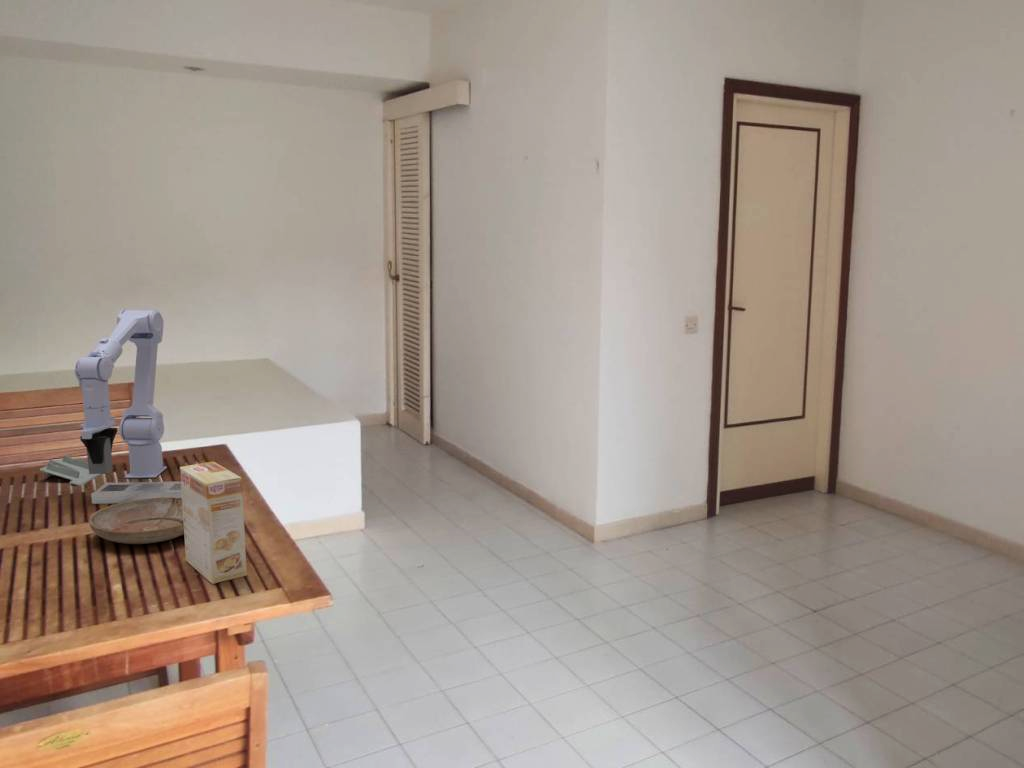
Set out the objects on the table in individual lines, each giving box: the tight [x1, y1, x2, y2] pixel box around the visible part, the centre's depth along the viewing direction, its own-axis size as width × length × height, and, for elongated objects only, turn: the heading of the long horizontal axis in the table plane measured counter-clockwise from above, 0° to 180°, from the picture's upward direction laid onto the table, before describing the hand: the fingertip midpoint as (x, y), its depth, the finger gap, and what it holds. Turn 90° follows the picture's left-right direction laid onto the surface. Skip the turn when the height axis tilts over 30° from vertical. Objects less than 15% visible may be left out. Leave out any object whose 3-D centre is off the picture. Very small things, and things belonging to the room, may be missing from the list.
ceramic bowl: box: [88, 497, 184, 545], centre depth 182 cm, size 23×24×5 cm
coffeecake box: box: [179, 461, 248, 585], centre depth 162 cm, size 15×7×20 cm, turn 39°
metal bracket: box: [39, 454, 102, 487], centre depth 223 cm, size 14×6×15 cm
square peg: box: [86, 437, 114, 475], centre depth 204 cm, size 4×4×8 cm
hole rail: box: [90, 480, 182, 505], centre depth 207 cm, size 9×24×2 cm, turn 94°
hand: (101, 460), depth 204 cm, fingers closed on square peg, 4 cm apart
